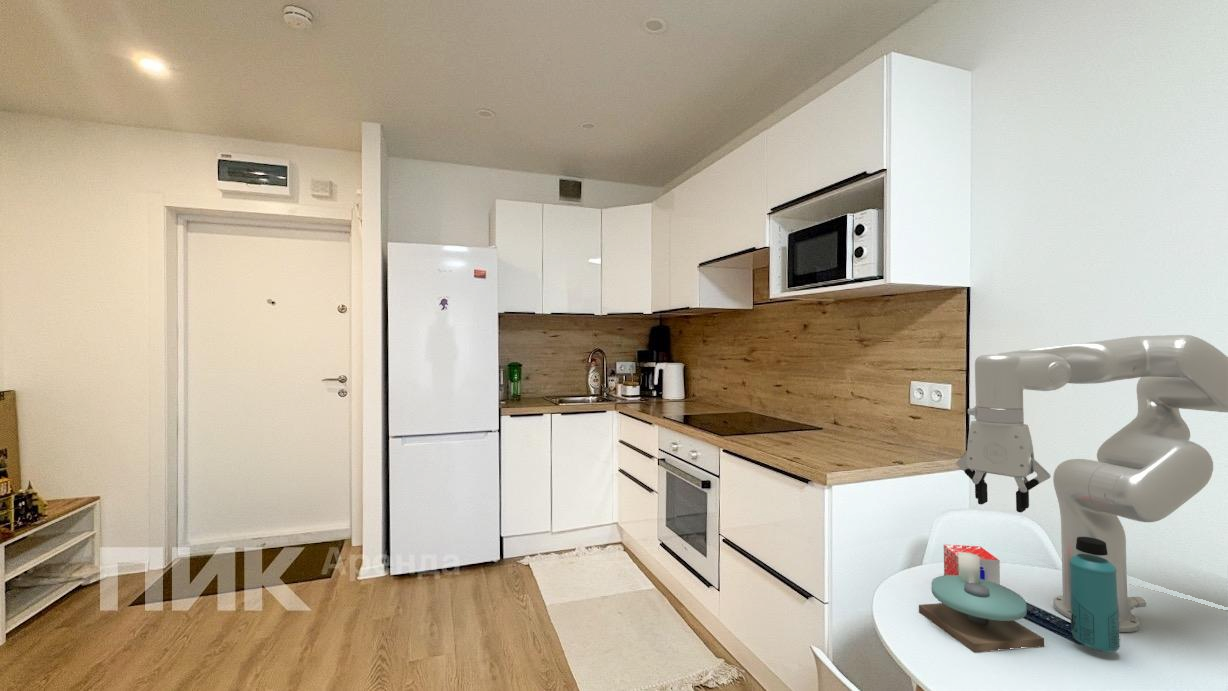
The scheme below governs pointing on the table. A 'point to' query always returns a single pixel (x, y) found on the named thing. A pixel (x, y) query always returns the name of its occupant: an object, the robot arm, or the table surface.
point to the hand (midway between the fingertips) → (1001, 506)
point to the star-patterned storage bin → (987, 562)
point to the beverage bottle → (1094, 597)
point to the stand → (980, 629)
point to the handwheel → (977, 593)
